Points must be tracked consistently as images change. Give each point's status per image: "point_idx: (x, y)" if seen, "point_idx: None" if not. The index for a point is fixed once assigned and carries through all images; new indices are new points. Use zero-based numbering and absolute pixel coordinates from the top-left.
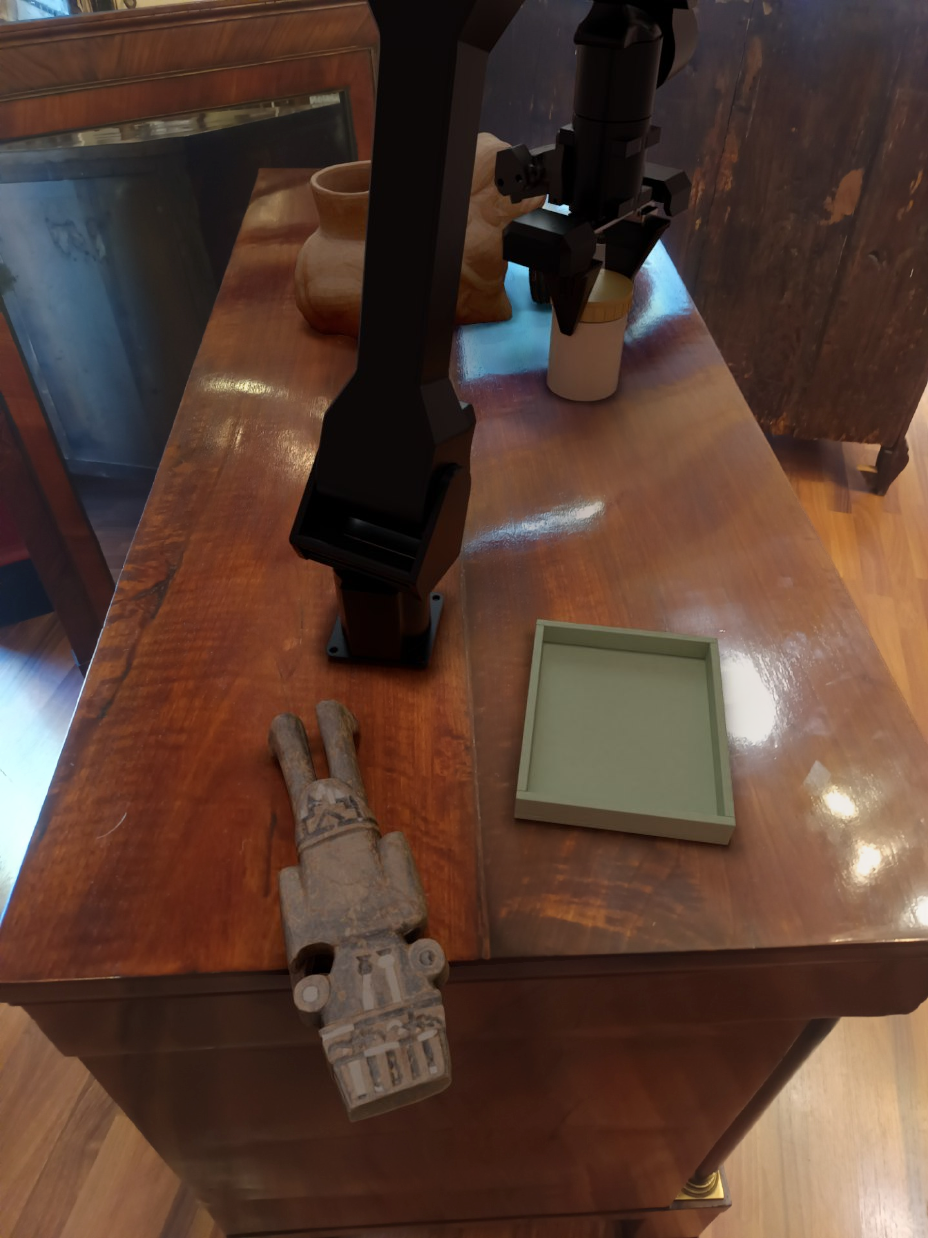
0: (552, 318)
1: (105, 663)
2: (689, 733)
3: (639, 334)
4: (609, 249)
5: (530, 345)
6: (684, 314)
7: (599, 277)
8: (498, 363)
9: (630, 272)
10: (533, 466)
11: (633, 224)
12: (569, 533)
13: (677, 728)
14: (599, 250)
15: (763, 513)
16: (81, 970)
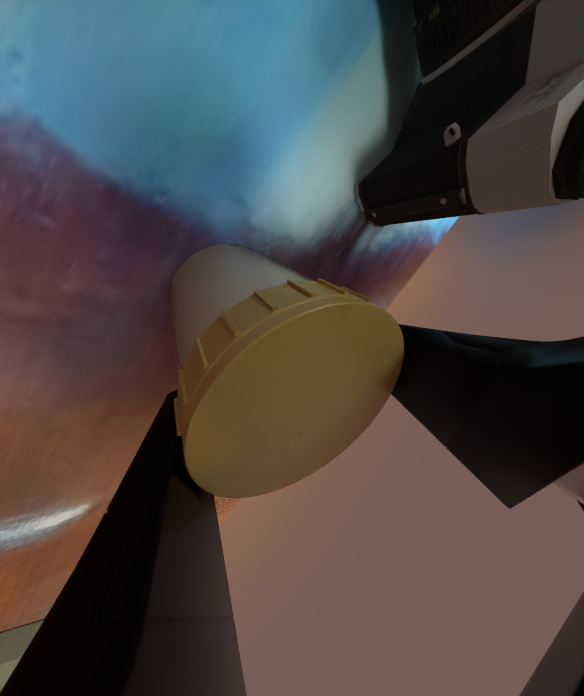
0: (187, 337)
1: None
2: (11, 667)
3: (379, 243)
4: (466, 371)
5: (242, 104)
6: (434, 242)
7: (357, 387)
8: (103, 96)
9: (401, 401)
10: (9, 456)
11: (552, 479)
12: (8, 549)
13: (3, 669)
14: (527, 166)
15: (223, 499)
16: None
